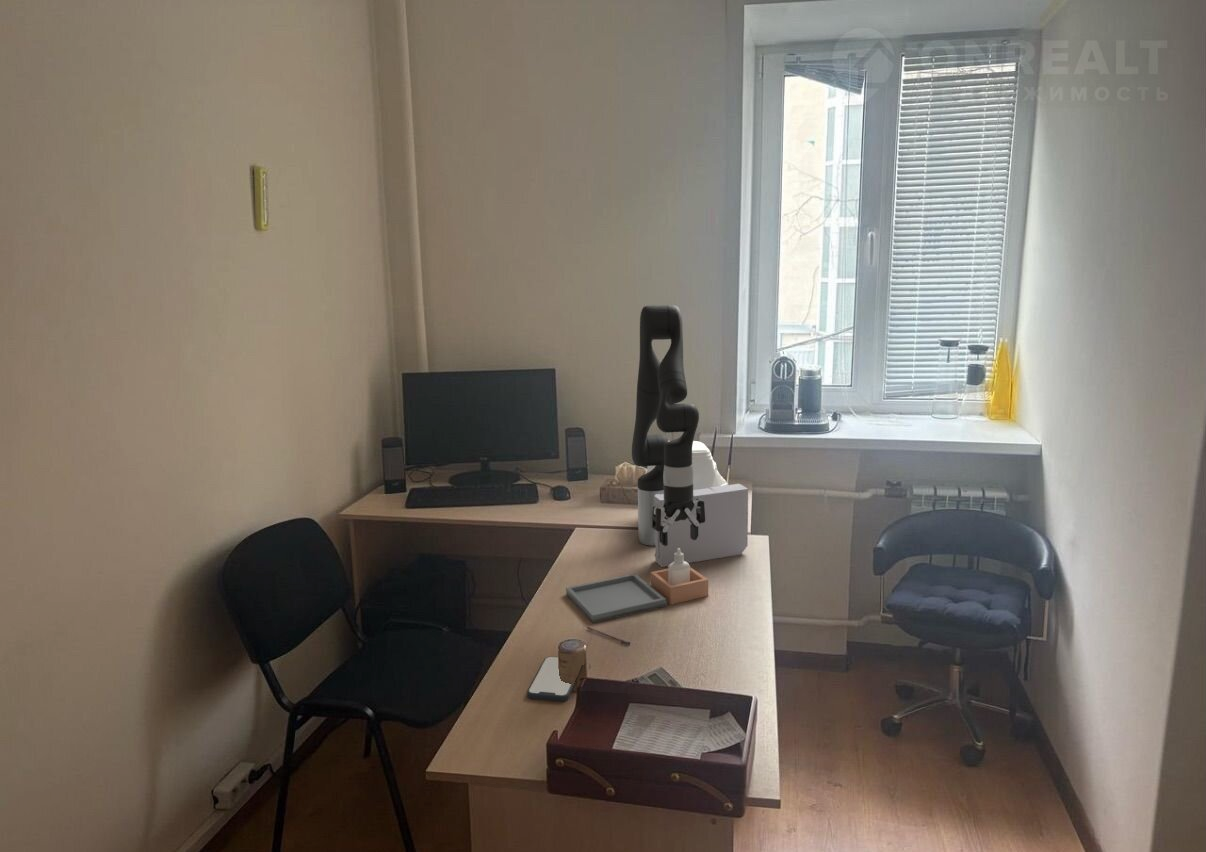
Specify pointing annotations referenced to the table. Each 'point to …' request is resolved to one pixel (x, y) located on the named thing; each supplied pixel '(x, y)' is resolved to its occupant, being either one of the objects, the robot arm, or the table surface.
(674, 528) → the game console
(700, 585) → the holder box
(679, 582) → the eye dropper bottle
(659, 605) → the tray
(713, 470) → the paper stack
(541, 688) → the phone case
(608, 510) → the table surface
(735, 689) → the table surface
